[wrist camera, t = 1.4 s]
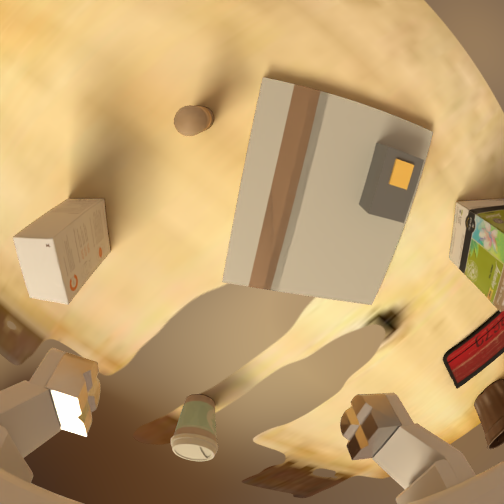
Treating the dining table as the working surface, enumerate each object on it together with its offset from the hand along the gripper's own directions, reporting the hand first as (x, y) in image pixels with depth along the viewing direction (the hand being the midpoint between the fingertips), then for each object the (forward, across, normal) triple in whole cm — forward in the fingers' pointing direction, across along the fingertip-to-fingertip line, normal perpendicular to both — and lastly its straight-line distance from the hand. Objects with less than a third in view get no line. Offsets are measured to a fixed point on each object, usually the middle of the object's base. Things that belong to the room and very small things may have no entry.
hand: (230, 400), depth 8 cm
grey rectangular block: (+28, -18, -8) cm, 34 cm away
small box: (+33, +18, +8) cm, 38 cm away
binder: (+30, -60, +16) cm, 69 cm away
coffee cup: (+36, -3, +40) cm, 54 cm away
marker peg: (+30, +5, -9) cm, 32 cm away
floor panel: (+30, -12, -3) cm, 33 cm away
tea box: (+28, -40, -7) cm, 50 cm away
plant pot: (+30, -83, +34) cm, 95 cm away
